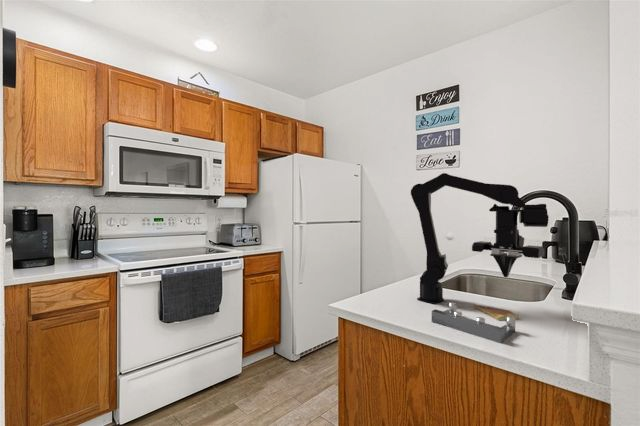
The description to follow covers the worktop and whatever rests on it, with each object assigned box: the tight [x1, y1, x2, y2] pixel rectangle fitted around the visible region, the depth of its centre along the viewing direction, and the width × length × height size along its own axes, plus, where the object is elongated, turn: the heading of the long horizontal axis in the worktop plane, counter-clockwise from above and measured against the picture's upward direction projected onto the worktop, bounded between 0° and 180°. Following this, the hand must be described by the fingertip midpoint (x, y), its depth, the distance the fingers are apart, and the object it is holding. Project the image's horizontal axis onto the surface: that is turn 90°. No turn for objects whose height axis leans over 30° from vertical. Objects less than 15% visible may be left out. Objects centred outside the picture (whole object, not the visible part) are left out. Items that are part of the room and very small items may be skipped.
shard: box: [473, 304, 519, 321], centre depth 96 cm, size 11×8×2 cm
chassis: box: [431, 301, 516, 344], centre depth 86 cm, size 18×10×4 cm, turn 39°
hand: (505, 276), depth 99 cm, fingers closed
